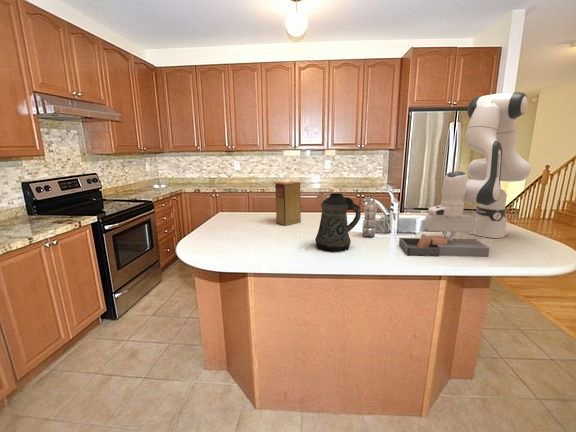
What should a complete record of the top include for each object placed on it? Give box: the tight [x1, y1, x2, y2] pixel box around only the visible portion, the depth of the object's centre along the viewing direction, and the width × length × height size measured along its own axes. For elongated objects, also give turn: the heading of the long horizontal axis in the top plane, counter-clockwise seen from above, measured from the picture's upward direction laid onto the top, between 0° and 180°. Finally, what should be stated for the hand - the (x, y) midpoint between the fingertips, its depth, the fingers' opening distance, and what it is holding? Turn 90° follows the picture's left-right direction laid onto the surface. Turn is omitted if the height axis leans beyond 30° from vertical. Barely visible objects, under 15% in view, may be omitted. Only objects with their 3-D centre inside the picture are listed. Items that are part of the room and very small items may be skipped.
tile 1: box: [417, 233, 432, 248], centre depth 132 cm, size 6×6×2 cm
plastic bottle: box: [362, 197, 378, 237], centre depth 152 cm, size 6×7×20 cm
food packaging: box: [274, 181, 302, 227], centre depth 180 cm, size 13×9×25 cm
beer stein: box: [315, 192, 362, 253], centre depth 137 cm, size 16×19×25 cm
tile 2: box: [428, 234, 447, 244], centre depth 130 cm, size 6×6×2 cm
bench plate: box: [429, 238, 490, 258], centre depth 130 cm, size 12×20×4 cm, turn 84°
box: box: [398, 237, 440, 257], centre depth 132 cm, size 14×13×4 cm
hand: (447, 240), depth 130 cm, fingers closed
